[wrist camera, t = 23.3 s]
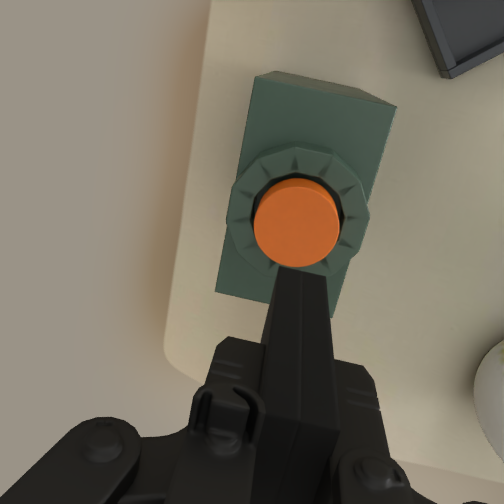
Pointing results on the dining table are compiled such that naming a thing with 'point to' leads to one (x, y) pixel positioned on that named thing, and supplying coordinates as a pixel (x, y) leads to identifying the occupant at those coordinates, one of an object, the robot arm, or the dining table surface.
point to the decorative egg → (491, 397)
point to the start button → (296, 222)
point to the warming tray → (461, 32)
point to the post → (303, 173)
